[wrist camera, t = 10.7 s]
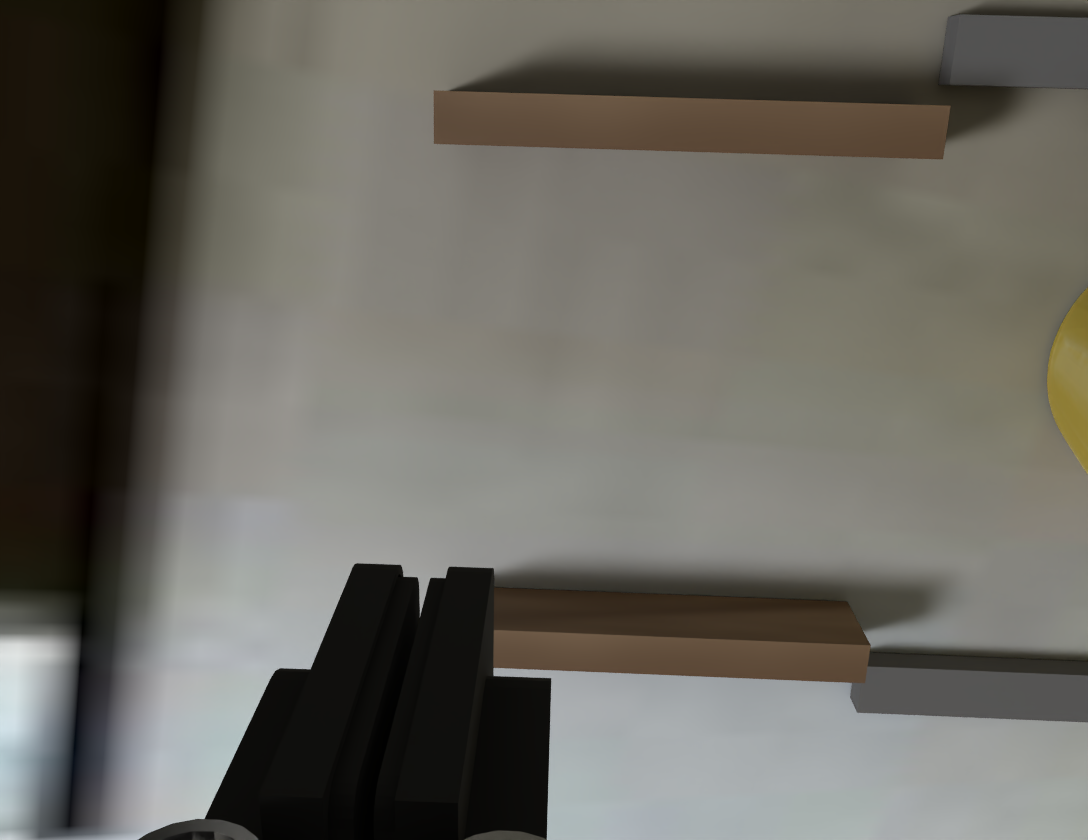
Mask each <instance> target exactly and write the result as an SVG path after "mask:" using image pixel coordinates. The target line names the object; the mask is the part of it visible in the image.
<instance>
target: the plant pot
mask: <svg viewBox="0 0 1088 840" xmlns="http://www.w3.org/2000/svg"><path fill="white" fill-rule="evenodd" d="M1047 388H1048V398H1049V402H1050V407H1051V411H1052V413H1053V416H1054V419H1055V422H1056V424H1057V426H1058V428H1059V430H1060V431H1061V433H1062V435H1063V437H1064V438H1065V440H1066V442H1067V443H1068V445H1069V446H1070V448H1071V450H1072V451H1073V453H1074V454H1075V456H1076V457H1077V459H1078V460H1079V462H1080V464H1081V465H1082V467H1083V468H1084V470H1085V471H1086V473H1087V474H1088V288H1087V289H1086V290H1085V291H1084V292H1083V293H1082V294H1081V295H1080V296H1079V298H1078V299H1077V300H1076V301H1075V303H1074V304H1073V306H1072V307H1071V309H1070V310H1069V312H1068V314H1067V315H1066V317H1065V318H1064V320H1063V322H1062V324H1061V326H1060V328H1059V330H1058V333H1057V335H1056V337H1055V340H1054V343H1053V346H1052V349H1051V353H1050V358H1049V363H1048V375H1047Z"/></svg>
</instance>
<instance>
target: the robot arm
mask: <svg viewBox="0 0 1088 840" xmlns="http://www.w3.org/2000/svg"><path fill="white" fill-rule="evenodd" d="M493 657H494V569H493V568H471V567H449V568H448V571H447V575H446V578H431V579H430V581H429V585H428V589H427V593H426V597H425V600H424V604H423V608H422V612H421V616H420V607H419V582H418V578H417V577H403V570H402V567H401V565H386V564H358V563H357V564H355V565H354V566H353V568H352V571H351V573H350V575H349V578H348V580H347V583H346V585H345V588H344V590H343V592H342V595H341V597H340V600H339V602H338V604H337V607H336V609H335V612H334V614H333V617H332V619H331V621H330V624H329V626H328V629H327V631H326V633H325V636H324V638H323V641H322V643H321V646H320V648H319V650H318V653H317V655H316V658H315V660H314V662H313V665H312V667H311V670H310V669H283V668H280V669H278V670H276V671H275V673H274V674H273V676H272V677H271V679H270V681H269V683H268V685H267V687H266V690H265V692H264V694H263V696H262V698H261V700H260V702H259V704H258V707H257V709H256V711H255V713H254V715H253V717H252V719H251V721H250V723H249V726H248V728H247V730H246V732H245V734H244V736H243V738H242V740H241V743H240V745H239V747H238V749H237V751H236V753H235V755H234V757H233V760H232V762H231V764H230V766H229V768H228V770H227V772H226V774H225V777H224V779H223V781H222V783H221V785H220V787H219V789H218V791H217V794H216V796H215V798H214V800H213V802H212V804H211V806H210V808H209V811H208V813H207V815H206V817H205V819H195V820H190V821H184V822H179V823H173V824H170V825H168V826H165V827H163V828H160V829H158V830H155V831H153V832H150V833H148V834H146V835H145V836H143V837H142V838H140V839H139V840H547V806H548V771H549V737H550V702H551V678H528V677H501V676H493Z"/></svg>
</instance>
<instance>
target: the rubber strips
mask: <svg viewBox="0 0 1088 840" xmlns="http://www.w3.org/2000/svg"><path fill="white" fill-rule="evenodd" d="M938 85H961V86H996V87H1030V88H1065V89H1088V18H1074V17H1037V16H1001V15H964V14H959V15H955V16H950V17H948V21H947V28H946V35H945V42H944V49H943V56H942V63H941V70H940V77H939V84H938ZM850 698H851V700H852V702H853V704H854V707H855V709H856V711H857V712H858V713H881V714H905V715H928V716H952V717H975V718H999V719H1022V720H1046V721H1069V722H1088V662H1087V661H1063V660H1039V659H1015V658H990V657H966V656H942V655H917V654H893V653H869V660H868V667H867V673H866V680H865V683H852V689H851V696H850Z"/></svg>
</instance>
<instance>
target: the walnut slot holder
mask: <svg viewBox="0 0 1088 840" xmlns="http://www.w3.org/2000/svg"><path fill="white" fill-rule="evenodd" d="M950 107H951V106H942V105H908V104H874V103H840V102H806V101H772V100H738V99H704V98H669V97H635V96H601V95H567V94H533V93H499V92H465V91H434V144H458V145H491V146H524V147H557V148H589V149H622V150H655V151H688V152H720V153H753V154H786V155H819V156H852V157H884V158H917V159H943V155H944V148H945V141H946V134H947V128H948V121H949V114H950ZM870 646H871V645H870V643H869V641H868V640H867V638H866V636H865V634H864V632H863V630H862V628H861V626H860V625H859V623H858V621H857V619H856V617H855V615H854V613H853V612H852V610H851V608H850V606H849V604H848V602H845V601H820V600H795V599H770V598H745V597H720V596H695V595H671V594H646V593H621V592H596V591H571V590H546V589H521V588H496V587H494V657H493V668H514V669H538V670H562V671H586V672H610V673H634V674H658V675H681V676H705V677H729V678H753V679H777V680H801V681H825V682H849V683H865V680H866V673H867V667H868V660H869V653H870Z"/></svg>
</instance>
